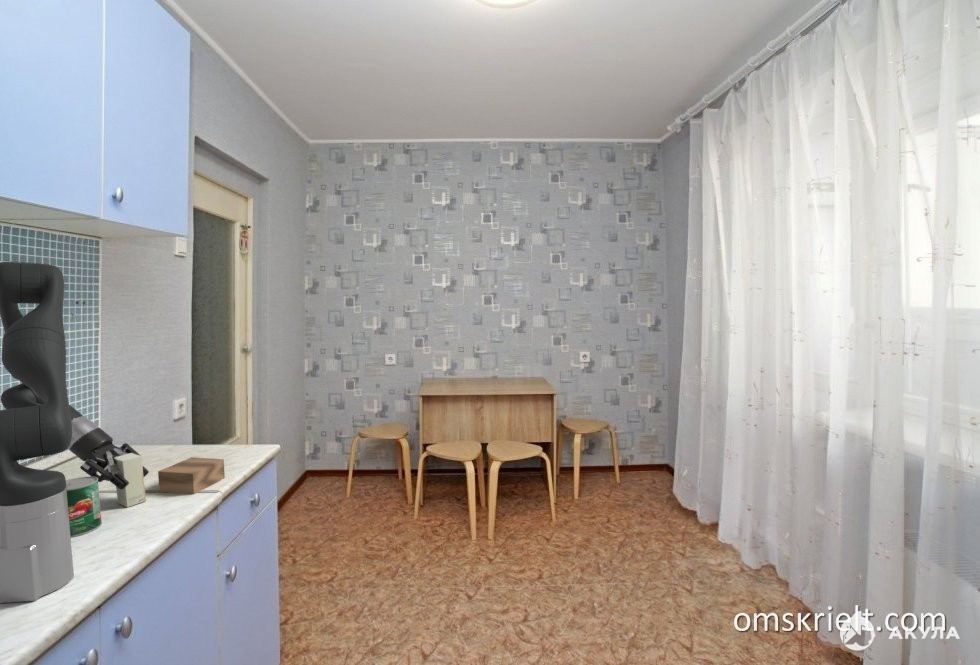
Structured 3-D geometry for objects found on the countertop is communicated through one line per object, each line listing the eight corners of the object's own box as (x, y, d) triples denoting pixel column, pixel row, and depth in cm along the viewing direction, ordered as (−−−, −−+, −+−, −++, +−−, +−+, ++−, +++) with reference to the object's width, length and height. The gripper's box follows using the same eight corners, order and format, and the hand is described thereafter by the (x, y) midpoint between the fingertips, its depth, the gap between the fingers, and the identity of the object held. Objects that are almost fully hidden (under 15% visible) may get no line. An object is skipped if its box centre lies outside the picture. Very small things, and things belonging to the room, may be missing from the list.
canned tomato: (97, 517, 110) (94, 473, 109) (105, 527, 105) (101, 481, 104) (52, 531, 104) (48, 484, 103) (58, 542, 99) (54, 493, 98)
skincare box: (146, 501, 119) (143, 456, 118) (126, 508, 115) (122, 461, 114) (136, 496, 122) (132, 452, 121) (115, 502, 118) (112, 457, 118)
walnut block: (194, 495, 123) (192, 473, 123) (159, 492, 125) (158, 471, 125) (224, 479, 134) (223, 459, 133) (192, 477, 136) (191, 457, 135)
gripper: (71, 436, 109) (126, 481, 111) (115, 420, 124) (163, 460, 126) (49, 458, 109) (105, 503, 111) (95, 440, 124) (144, 480, 125)
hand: (136, 480), depth 118 cm, fingers closed on skincare box, 7 cm apart
